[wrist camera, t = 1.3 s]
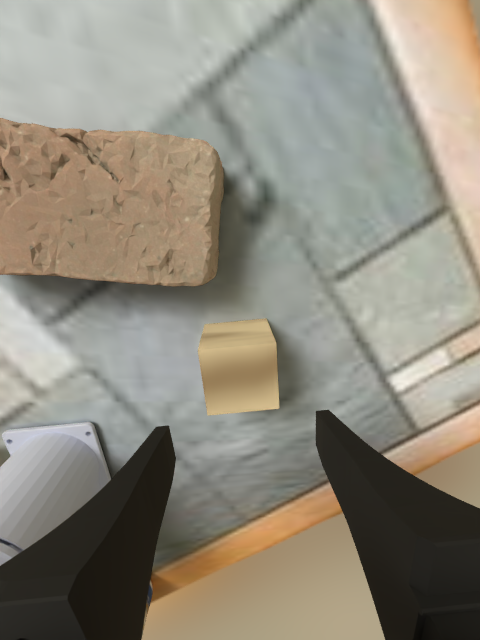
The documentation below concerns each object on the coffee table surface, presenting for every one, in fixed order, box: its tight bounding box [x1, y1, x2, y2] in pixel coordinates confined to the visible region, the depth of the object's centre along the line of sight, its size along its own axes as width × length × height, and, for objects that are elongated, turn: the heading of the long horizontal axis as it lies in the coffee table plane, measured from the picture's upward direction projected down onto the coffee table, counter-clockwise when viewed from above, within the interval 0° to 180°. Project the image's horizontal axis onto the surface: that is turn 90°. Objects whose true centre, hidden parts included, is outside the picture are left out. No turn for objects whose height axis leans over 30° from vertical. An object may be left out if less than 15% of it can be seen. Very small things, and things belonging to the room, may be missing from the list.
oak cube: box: [198, 319, 279, 415], centre depth 20 cm, size 5×5×5 cm
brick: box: [0, 118, 224, 286], centre depth 17 cm, size 17×8×5 cm, turn 86°
